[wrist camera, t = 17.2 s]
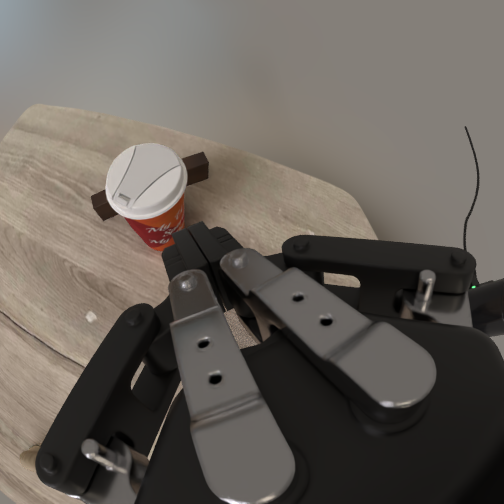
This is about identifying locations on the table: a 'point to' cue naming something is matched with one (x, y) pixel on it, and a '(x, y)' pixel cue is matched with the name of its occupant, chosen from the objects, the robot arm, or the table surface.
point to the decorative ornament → (29, 458)
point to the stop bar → (195, 173)
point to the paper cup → (149, 192)
